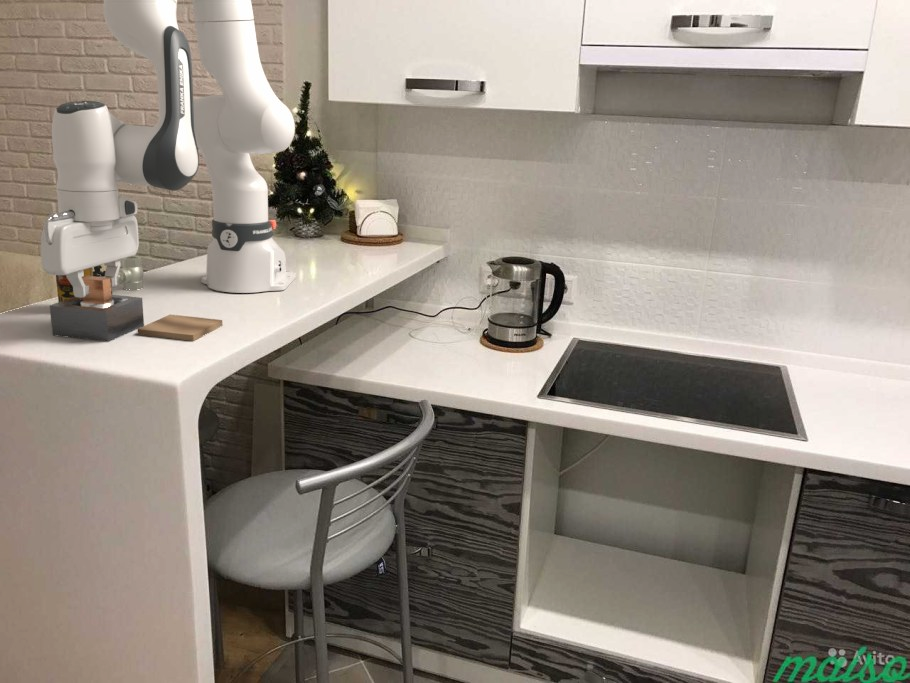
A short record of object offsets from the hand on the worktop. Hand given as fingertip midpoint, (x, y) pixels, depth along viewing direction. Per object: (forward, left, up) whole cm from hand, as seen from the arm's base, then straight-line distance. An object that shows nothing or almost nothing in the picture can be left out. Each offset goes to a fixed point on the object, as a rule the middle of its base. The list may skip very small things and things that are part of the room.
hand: (96, 291), depth 124 cm
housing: (0, 0, -7) cm, 7 cm away
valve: (-25, -12, -7) cm, 28 cm away
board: (-5, +12, -7) cm, 15 cm away
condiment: (-11, -12, -7) cm, 18 cm away
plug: (0, 0, -7) cm, 7 cm away
